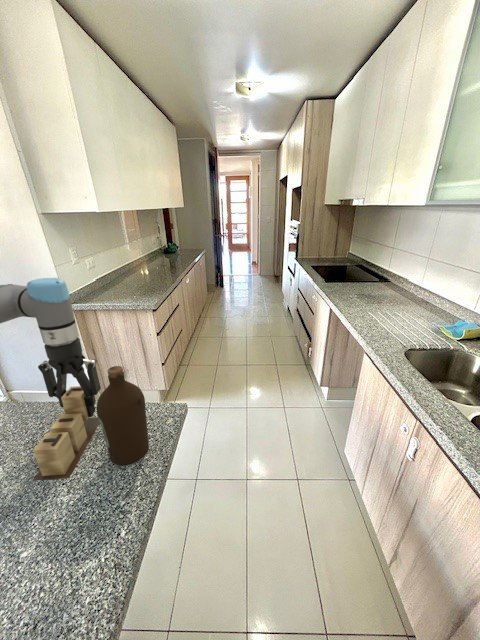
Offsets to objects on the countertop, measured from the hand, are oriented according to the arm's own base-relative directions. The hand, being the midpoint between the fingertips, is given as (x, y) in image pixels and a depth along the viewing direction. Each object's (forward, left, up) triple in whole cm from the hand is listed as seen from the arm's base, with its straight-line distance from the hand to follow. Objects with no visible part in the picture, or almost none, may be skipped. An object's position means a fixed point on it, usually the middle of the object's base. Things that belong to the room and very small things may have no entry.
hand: (81, 414), depth 73 cm
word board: (0, -6, -5) cm, 8 cm away
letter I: (0, -6, -4) cm, 8 cm away
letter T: (0, -13, -4) cm, 14 cm away
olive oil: (+15, -9, -5) cm, 19 cm away
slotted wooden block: (0, 0, 0) cm, 0 cm away
